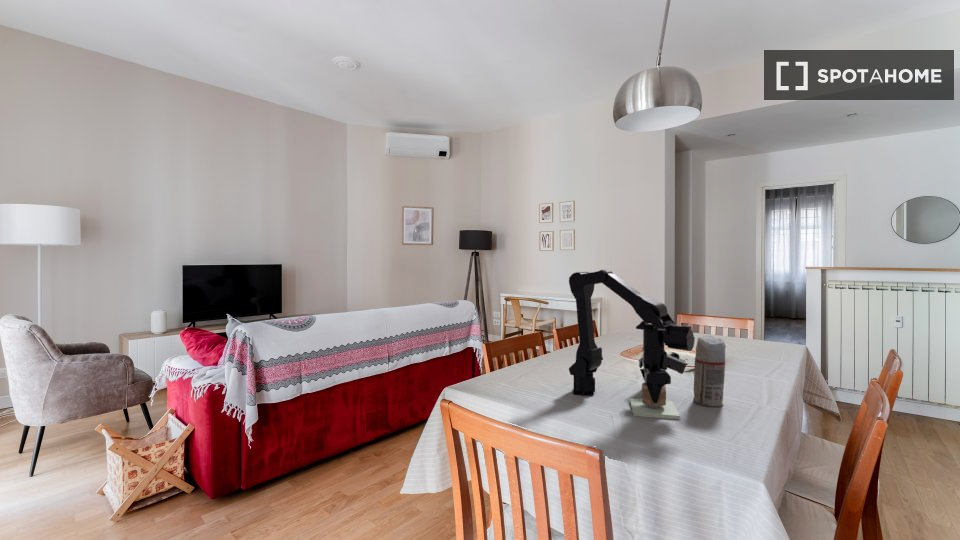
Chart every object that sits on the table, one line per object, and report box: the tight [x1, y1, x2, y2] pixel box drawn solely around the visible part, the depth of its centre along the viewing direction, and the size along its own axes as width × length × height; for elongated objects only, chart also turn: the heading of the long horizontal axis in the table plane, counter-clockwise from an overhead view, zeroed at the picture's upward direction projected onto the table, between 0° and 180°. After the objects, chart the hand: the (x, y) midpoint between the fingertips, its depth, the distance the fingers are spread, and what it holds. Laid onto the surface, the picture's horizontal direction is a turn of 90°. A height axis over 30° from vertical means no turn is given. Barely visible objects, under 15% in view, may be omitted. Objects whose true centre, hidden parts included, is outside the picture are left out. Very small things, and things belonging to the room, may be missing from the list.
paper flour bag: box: [693, 335, 726, 407], centre depth 128 cm, size 8×8×20 cm
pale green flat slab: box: [629, 397, 681, 420], centre depth 123 cm, size 12×12×4 cm
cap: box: [641, 381, 667, 407], centre depth 123 cm, size 6×6×6 cm
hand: (653, 399), depth 123 cm, fingers closed on cap, 6 cm apart
